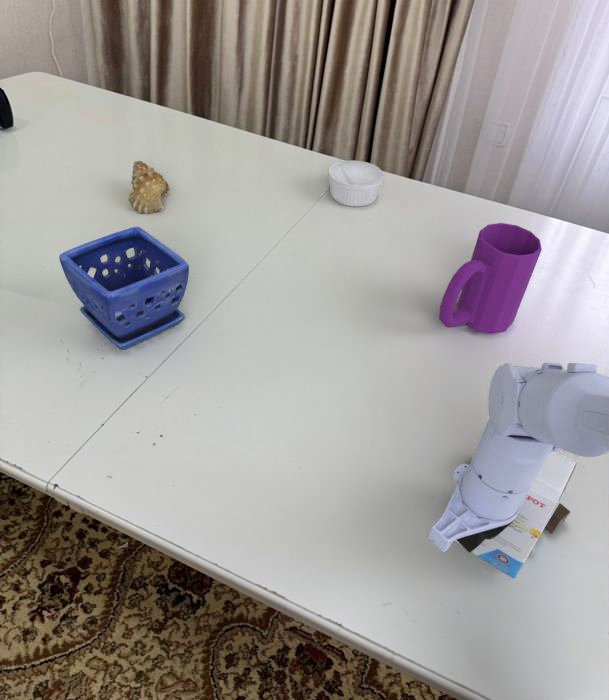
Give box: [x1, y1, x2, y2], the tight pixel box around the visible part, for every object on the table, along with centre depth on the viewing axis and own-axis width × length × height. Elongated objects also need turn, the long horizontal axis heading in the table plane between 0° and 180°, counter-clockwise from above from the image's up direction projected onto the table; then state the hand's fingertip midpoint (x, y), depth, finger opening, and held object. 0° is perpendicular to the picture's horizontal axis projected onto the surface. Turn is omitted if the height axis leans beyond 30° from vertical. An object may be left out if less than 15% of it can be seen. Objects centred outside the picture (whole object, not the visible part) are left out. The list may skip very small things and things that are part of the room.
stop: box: [544, 502, 571, 535], centre depth 75 cm, size 12×2×3 cm, turn 38°
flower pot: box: [58, 226, 190, 351], centre depth 90 cm, size 13×13×12 cm
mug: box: [438, 222, 542, 335], centre depth 94 cm, size 9×16×15 cm, turn 124°
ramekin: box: [327, 159, 385, 208], centre depth 126 cm, size 11×11×5 cm
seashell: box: [127, 160, 171, 215], centre depth 119 cm, size 9×8×10 cm
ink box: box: [454, 451, 578, 579], centre depth 67 cm, size 9×8×12 cm
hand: (465, 542), depth 67 cm, fingers closed, pressing on ink box
